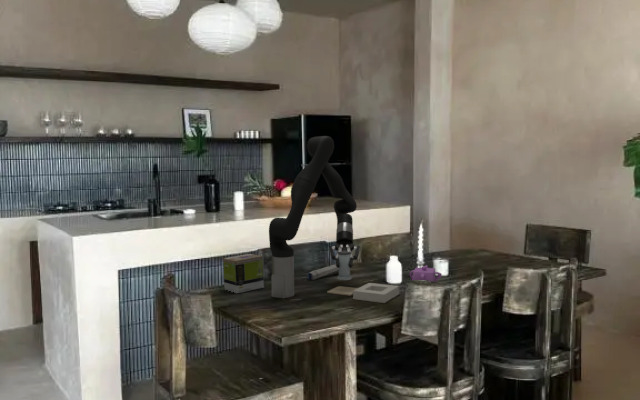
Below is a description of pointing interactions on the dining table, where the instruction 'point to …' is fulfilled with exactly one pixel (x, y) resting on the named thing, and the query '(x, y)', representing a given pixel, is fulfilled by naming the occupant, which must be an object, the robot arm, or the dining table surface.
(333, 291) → the mat
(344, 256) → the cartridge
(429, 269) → the teapot
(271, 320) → the dining table surface
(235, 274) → the tea box
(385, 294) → the housing
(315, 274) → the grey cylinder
